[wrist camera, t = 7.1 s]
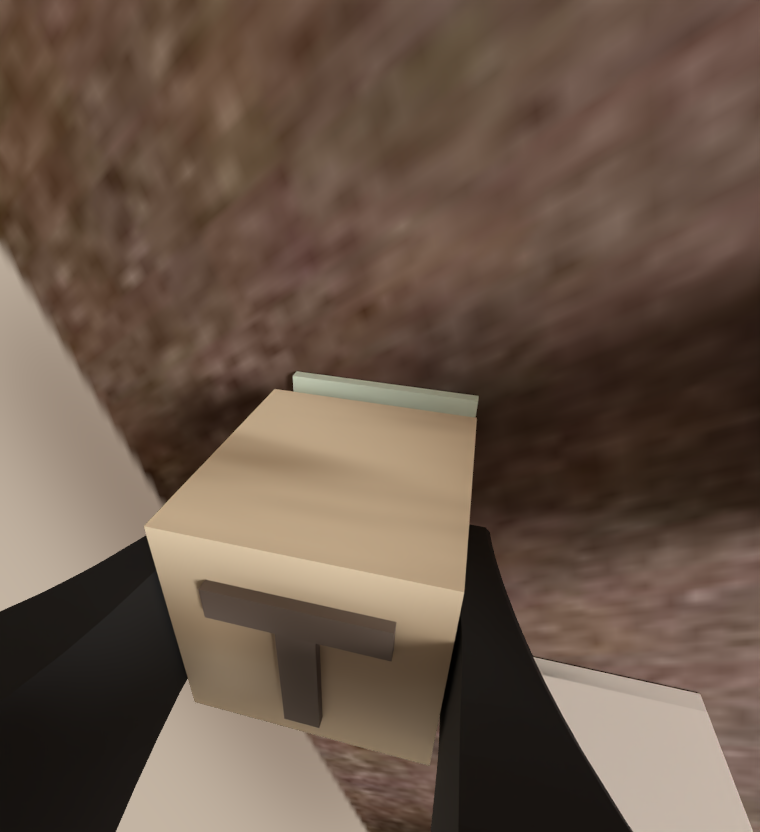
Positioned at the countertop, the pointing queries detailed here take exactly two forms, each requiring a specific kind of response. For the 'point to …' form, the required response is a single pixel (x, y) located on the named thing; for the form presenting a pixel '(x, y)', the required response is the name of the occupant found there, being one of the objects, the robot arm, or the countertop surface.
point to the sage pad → (386, 394)
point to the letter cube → (324, 568)
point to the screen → (649, 750)
